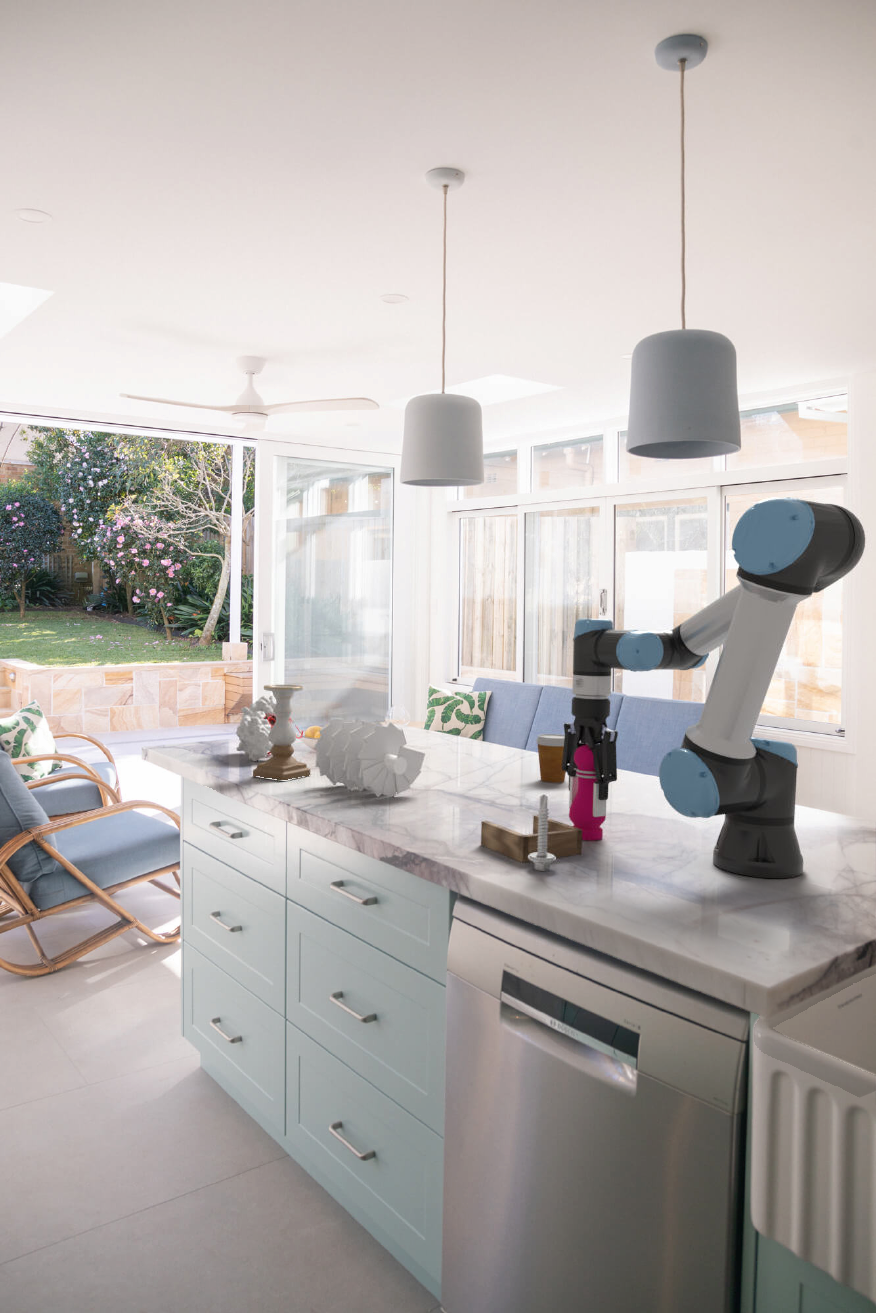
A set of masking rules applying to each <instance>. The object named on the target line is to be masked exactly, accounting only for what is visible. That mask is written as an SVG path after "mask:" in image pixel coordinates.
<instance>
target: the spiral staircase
mask: <svg viewBox="0 0 876 1313" xmlns="http://www.w3.org/2000/svg"><path fill="white" fill-rule="evenodd" d="M318 732H319V735H320V736H319V738H318V740H317V741H316V743H315V744H314V746H313V750H315V751H316V756H315V757H316V758H315V765H314V766H315V767H316V768H318V769H319V775H320V776H321V777H323V776H325V777H326V778H327V779H328V780H329V781H330V782H331V783H332V785H333V786H336V784H337V783H339V784H343V785H344V786H345V787H346V788H348V790H349V789H352V790H353V789H354V788H358V790H359V792H363V791H364V789H365V790H368V791H370V792H373V793H374V794H375V795H376V797H377V798H380V797H381V795H385V796H389V797H392V796H395V797H396V795H397V794H401V793H403V792H405V791H407V790H409V789H411V785H412V784H413V783H415V781H416V780H417V778H418V777H419V776H420V775H421V773H422V771H421V769H422V766H423V763H424V759H425V755H426V753H425V752H423V751H422V752H421V751H418V750H415V749H412V748H408V747H404V746H405V745H407V744H408V743H407V739H406V737H405V733H404V729H403V728H400V729H399V728H398V727H396V726H395V725H394V724H393V723H392V722H389V723H388V725H383V724H382V723H381V722H380V721H379V719H376V720H375V722H374V723H373V722H367V721H363V720H362V719H360V718H359V717H356V718H355V720H353V719H351V718H350V717H349V716H348V715H346V714H345V715H343V718H330V722H329V723H328V724H326V725H325V726H323V727H322V728H320V729H318Z"/></svg>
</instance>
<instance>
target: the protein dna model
mask: <svg viewBox="0 0 876 1313" xmlns="http://www.w3.org/2000/svg"><path fill="white" fill-rule="evenodd" d="M275 706H276V699H275V697H274V696H273V695H270V696H269V698H268V697H267V696H264V695H262V696H261V697H260V698H259V699H258V700H256V701H255V702H254V703H250V705H249V708H248V706H244V707H241V708H240V711H241V713H243V715H242V716H241V720H240V723H239V725H238V726H237V728H236V732H235V734H236V736H237V737H238V740H239V741H240V742H239V743H238V746H237V747H236V749H235V750H236V751H237V752H244V753H245V755H249V756H248V759H249V760H251V761H252V762H254V761H256V762H258V761H259V760H261V759H262V757H263V758H267V757H268V755H270V753H271V748H272V747H273V745H274V744H272V743H271V742H270V741H269V738H268V736H269V732H270V730H271V729H272V727H273V726H274V724H275V722H276V715H275V712H273V709H274V708H275ZM289 721H290V723H291V722H292V723H294V721H293V719H291V716H290V717H289ZM292 723H291V724H292ZM294 726H295V728H296V729H297V730H298V732H299V734H301V735H300V736H299V737H298V735H297V734H296V736H297V737H296V739H298V740H299V739H301V738H302V737H303V735H304V730H302V731H300V730H299V728H298V726H297V725H295V724H294ZM267 754H268V755H267ZM257 760H258V761H257Z"/></svg>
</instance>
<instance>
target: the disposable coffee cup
mask: <svg viewBox="0 0 876 1313" xmlns="http://www.w3.org/2000/svg"><path fill="white" fill-rule="evenodd" d="M564 738H565V734H557V733H543V734H542V733H541V734H538V735H537V738H536V739H535V741H536V744H537V750H538V753H537V754H538V764H539V772H540V773H539V774H540V781H542V782H545V783H555V784H557V783H564V782H565V780H566V773H567V772H566V771H563V770H562V760H563V749H564Z"/></svg>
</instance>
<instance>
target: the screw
mask: <svg viewBox="0 0 876 1313" xmlns="http://www.w3.org/2000/svg"><path fill="white" fill-rule="evenodd" d="M548 798H549V797H548V796H547V795H546V794H542V795H540V796H539V810H538V814H537V815H539V818H538V819H539V821H538V822H539V824H538V825H539V826H538V831H537V832H538V838H537V839H538V841H537V842H538V845H537V846H538V848H537V849H538V851H537V852H534V853H531V854H530V855H528V859H529V860H531V861H530V862H532V863H533V869H535V871H537V872H538V871H540V872H545V871H550V865H551V863H554V862H556V860H557V858H556V857H555V856H554V855H553V854H550V853H547V851H548V850H547V848H548V847H547V845H548V843H547V841H548V840H547V838H548V836H547V835H548V833H547V831H548V829H547V828H548V826H547V825H548V823H547V822H548V821H549V820H548V818H549V814H550V813H549V812H548V811H549V809H548V800H549V799H548Z"/></svg>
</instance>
